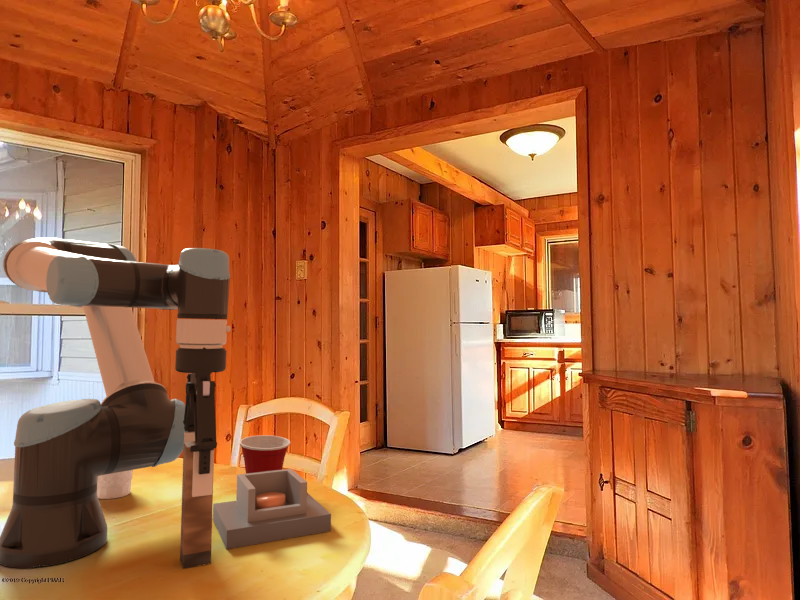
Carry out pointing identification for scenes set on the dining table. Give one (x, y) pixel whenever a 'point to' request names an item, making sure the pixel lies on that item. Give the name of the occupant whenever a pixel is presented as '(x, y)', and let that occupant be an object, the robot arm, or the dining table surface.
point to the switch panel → (269, 511)
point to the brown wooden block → (194, 518)
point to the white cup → (114, 485)
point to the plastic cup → (264, 453)
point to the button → (270, 500)
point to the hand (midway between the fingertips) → (196, 482)
